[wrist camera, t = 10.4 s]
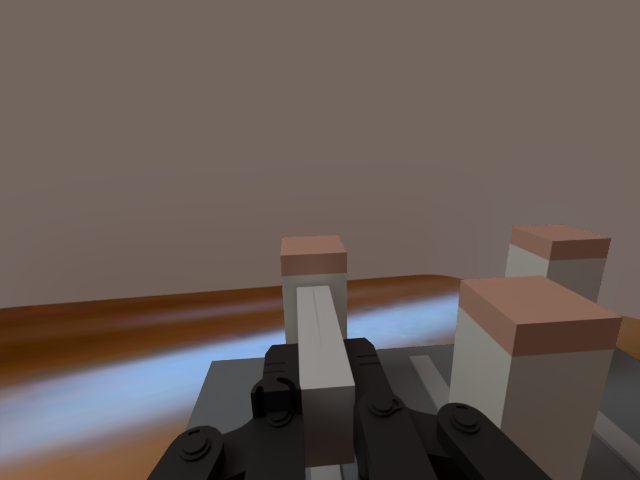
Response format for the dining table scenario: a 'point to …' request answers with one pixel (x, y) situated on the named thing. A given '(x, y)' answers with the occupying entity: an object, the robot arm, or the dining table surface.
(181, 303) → the dining table surface
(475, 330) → the switch
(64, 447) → the dining table surface
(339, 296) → the white brown-topped block
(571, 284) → the switch
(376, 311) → the dining table surface
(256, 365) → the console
